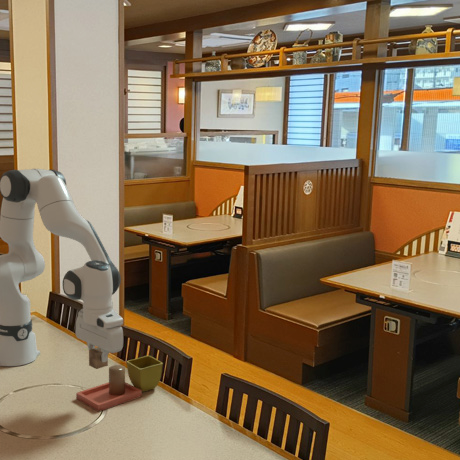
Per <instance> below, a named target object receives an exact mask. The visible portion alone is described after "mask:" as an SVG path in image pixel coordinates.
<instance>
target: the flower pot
mask: <svg viewBox="0 0 460 460" xmlns="http://www.w3.org/2000/svg"><path fill="white" fill-rule="evenodd" d="M163 364H164V362H162V361H160V360H158V359H157V358H155V357H153V356H152V355H144V356H141V357H137V358H134V359H130V360H127V361H126V366H127V373H128V378H129V381H130V383H131V385H132V386H134V387H136V388H138V389H140V390H142V393H143V392H146V391H150V390H153V389H155V388H157V386H158V385H159V383H160V381H161V378H162V372H163V366H164V365H163Z"/></svg>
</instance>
